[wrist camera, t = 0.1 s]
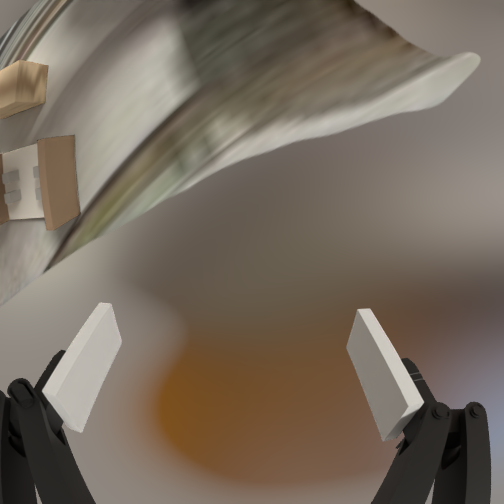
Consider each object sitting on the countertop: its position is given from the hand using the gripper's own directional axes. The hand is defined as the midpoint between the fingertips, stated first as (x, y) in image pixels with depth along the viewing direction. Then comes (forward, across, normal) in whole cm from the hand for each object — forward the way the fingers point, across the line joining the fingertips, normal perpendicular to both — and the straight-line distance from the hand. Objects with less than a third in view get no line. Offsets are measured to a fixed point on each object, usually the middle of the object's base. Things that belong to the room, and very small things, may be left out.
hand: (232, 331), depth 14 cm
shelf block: (+28, -39, +22) cm, 53 cm away
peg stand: (+28, -36, +5) cm, 46 cm away
